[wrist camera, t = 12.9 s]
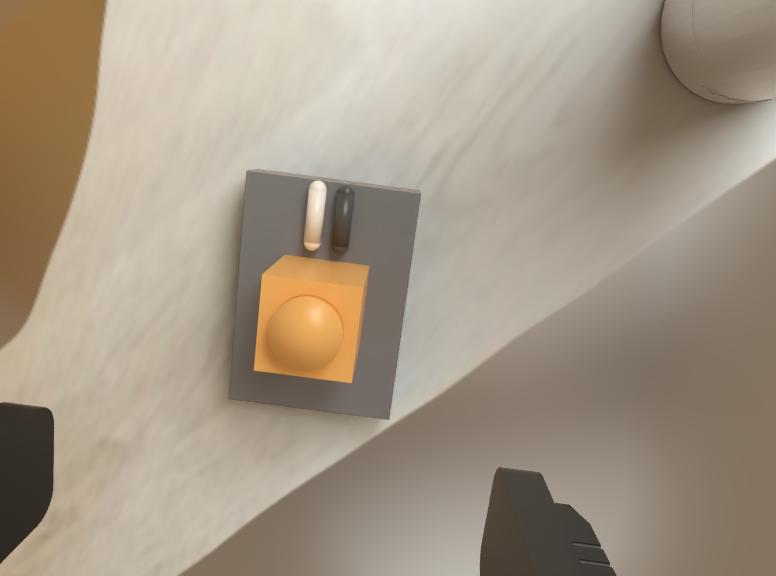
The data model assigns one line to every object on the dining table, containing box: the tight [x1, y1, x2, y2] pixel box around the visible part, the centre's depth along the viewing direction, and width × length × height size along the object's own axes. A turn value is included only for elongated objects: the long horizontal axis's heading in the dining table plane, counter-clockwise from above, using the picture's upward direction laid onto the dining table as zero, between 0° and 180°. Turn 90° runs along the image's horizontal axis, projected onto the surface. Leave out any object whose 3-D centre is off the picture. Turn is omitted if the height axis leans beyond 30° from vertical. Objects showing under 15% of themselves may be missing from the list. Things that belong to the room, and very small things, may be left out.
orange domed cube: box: [254, 255, 370, 383], centre depth 33 cm, size 5×5×7 cm
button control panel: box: [229, 169, 421, 420], centre depth 35 cm, size 14×10×8 cm
